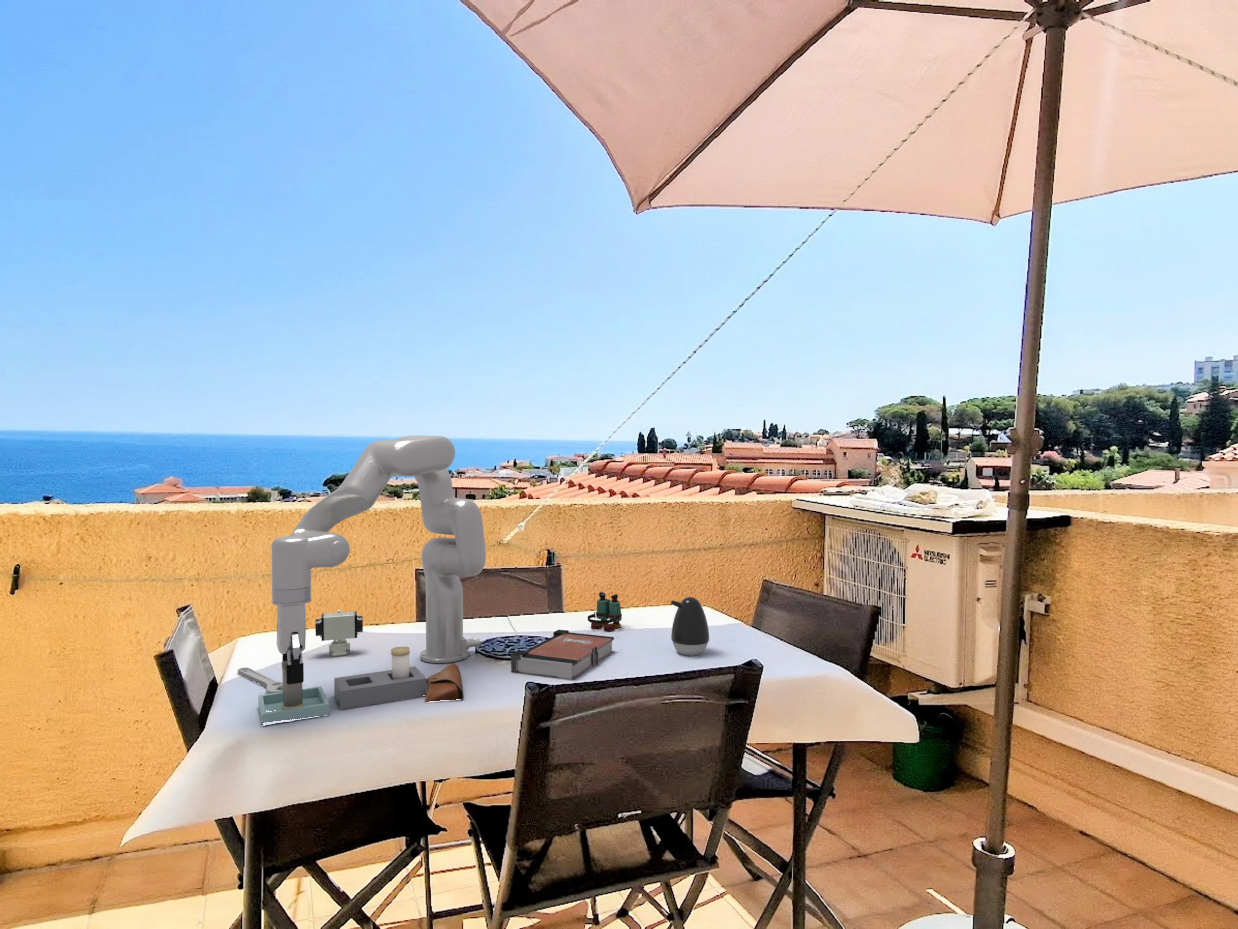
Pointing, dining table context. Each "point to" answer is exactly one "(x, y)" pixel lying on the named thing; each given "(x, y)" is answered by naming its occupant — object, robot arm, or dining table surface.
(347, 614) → the pneumatic valve
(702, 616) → the pump dispenser
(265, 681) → the adjustable wrench
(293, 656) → the robot arm
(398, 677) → the cylinder
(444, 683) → the sunglasses case
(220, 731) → the dining table surface
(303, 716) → the parts tray
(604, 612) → the green twin tank jetpack
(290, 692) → the cylinder
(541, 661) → the book
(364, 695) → the block
